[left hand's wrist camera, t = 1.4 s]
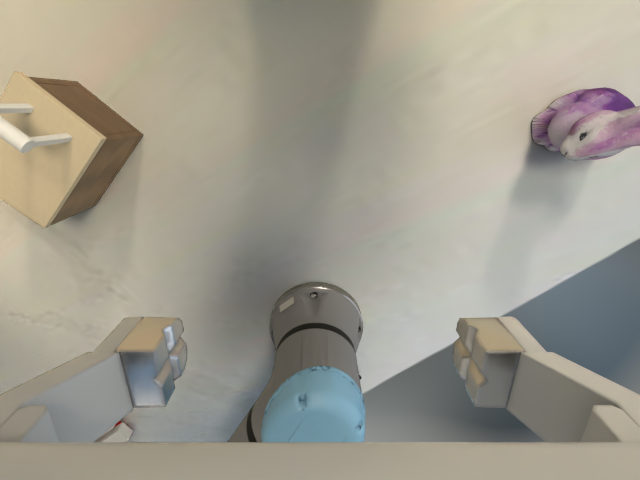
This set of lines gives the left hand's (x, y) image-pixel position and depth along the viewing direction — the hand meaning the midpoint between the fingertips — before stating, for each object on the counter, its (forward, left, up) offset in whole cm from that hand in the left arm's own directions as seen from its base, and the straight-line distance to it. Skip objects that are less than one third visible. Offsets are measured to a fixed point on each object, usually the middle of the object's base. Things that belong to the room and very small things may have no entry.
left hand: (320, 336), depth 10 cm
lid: (-10, -31, -32) cm, 46 cm away
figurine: (+6, +33, -42) cm, 53 cm away
